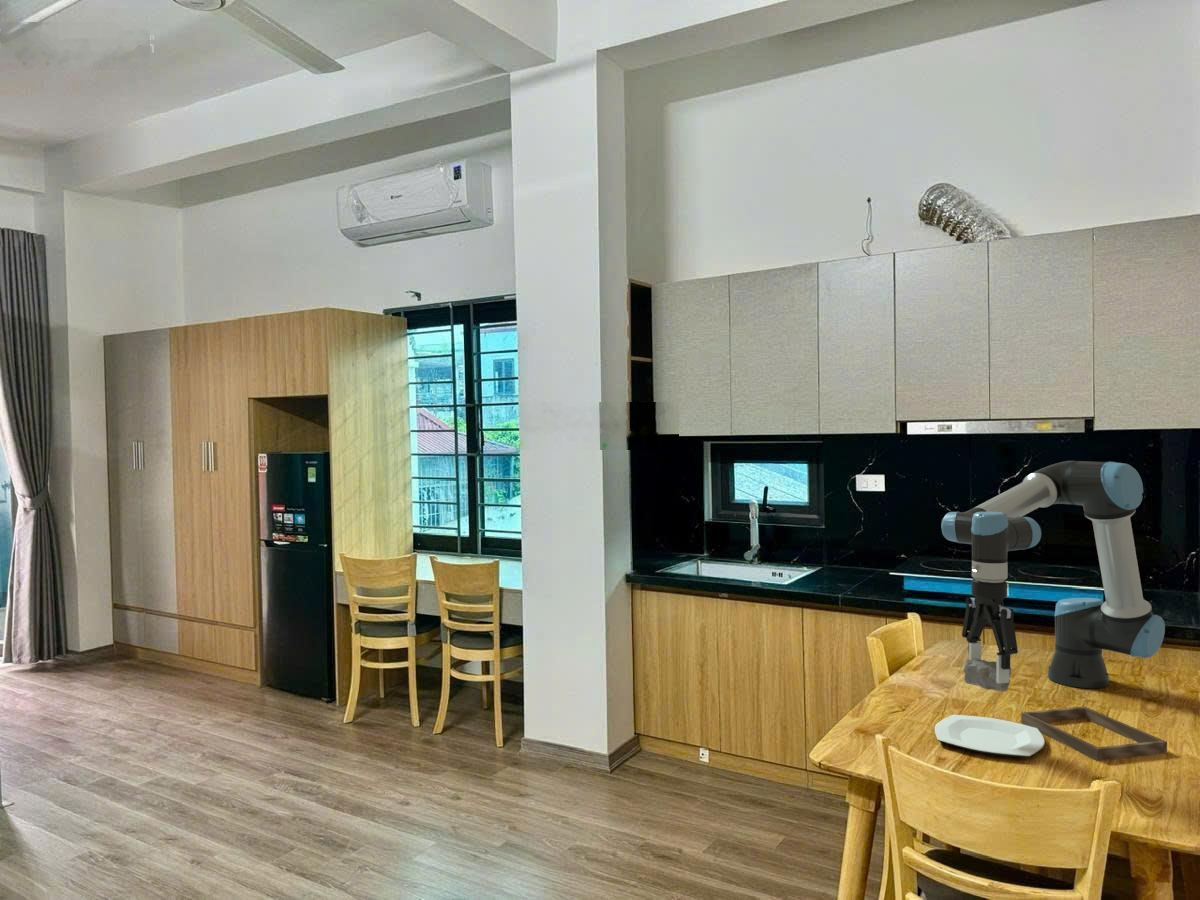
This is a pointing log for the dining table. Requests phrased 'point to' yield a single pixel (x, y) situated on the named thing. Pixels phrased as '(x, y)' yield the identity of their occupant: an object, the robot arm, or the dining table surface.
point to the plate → (990, 735)
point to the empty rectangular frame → (1146, 741)
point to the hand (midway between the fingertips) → (988, 676)
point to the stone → (983, 675)
